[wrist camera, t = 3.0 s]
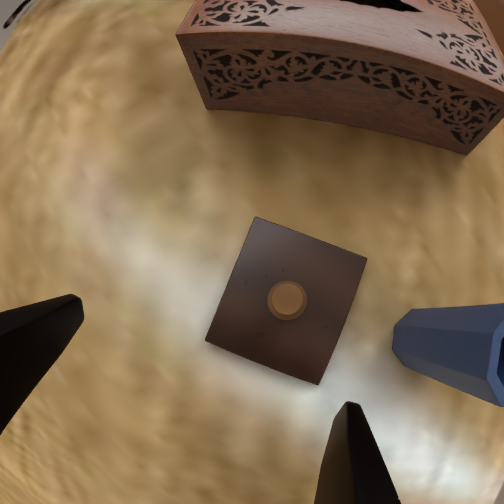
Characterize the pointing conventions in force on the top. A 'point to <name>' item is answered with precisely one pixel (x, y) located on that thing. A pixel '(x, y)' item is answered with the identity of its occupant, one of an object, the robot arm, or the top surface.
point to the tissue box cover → (352, 64)
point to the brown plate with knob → (286, 301)
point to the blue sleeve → (456, 347)
